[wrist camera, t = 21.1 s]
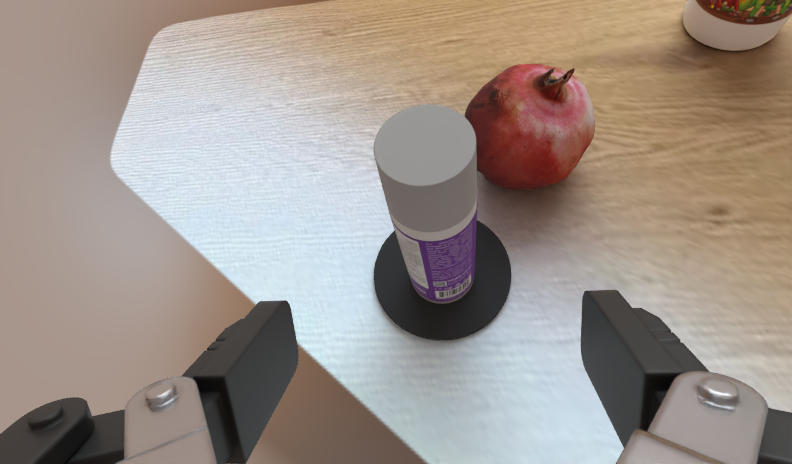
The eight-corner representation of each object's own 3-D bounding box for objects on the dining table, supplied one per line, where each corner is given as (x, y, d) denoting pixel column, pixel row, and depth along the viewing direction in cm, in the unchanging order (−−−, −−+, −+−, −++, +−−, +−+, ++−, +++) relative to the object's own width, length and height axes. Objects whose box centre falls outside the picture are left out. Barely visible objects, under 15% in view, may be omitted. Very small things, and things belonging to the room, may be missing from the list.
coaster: (445, 192, 36) (445, 189, 35) (540, 276, 31) (541, 274, 31) (348, 269, 34) (347, 267, 33) (435, 371, 29) (435, 370, 29)
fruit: (441, 162, 37) (433, 70, 28) (520, 99, 39) (535, -5, 30) (524, 232, 33) (544, 149, 24) (607, 158, 35) (654, 56, 26)
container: (479, 249, 32) (486, 105, 19) (468, 309, 30) (470, 195, 17) (417, 240, 34) (385, 98, 20) (403, 297, 32) (358, 182, 18)
